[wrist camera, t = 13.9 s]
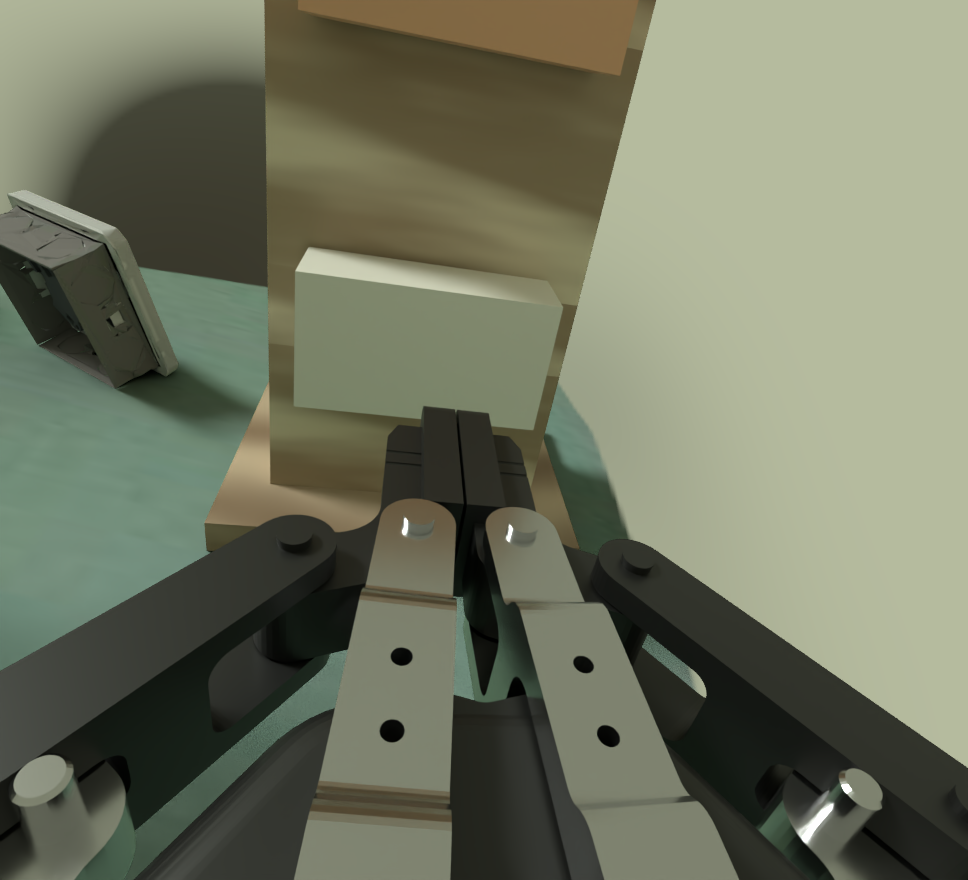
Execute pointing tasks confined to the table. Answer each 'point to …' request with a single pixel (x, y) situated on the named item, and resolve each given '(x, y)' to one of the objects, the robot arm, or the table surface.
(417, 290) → the lower knob
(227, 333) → the table surface
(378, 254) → the knob post
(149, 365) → the electrical switch
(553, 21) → the orange block
